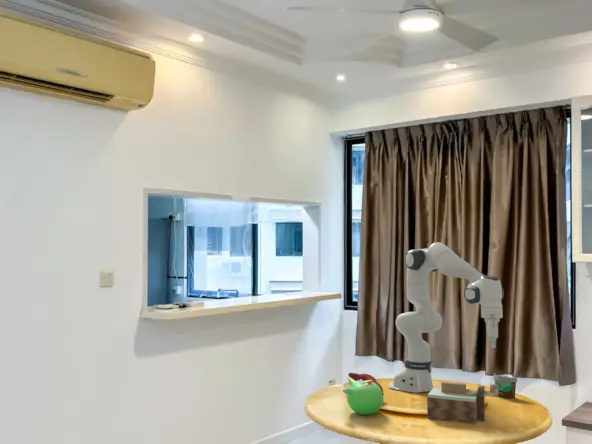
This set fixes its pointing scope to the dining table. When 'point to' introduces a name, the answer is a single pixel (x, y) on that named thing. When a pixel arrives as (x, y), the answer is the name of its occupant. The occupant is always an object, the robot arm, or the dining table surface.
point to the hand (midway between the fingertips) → (492, 346)
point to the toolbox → (457, 409)
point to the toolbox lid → (452, 392)
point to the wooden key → (492, 392)
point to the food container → (505, 386)
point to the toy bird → (364, 396)
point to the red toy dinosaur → (364, 378)
